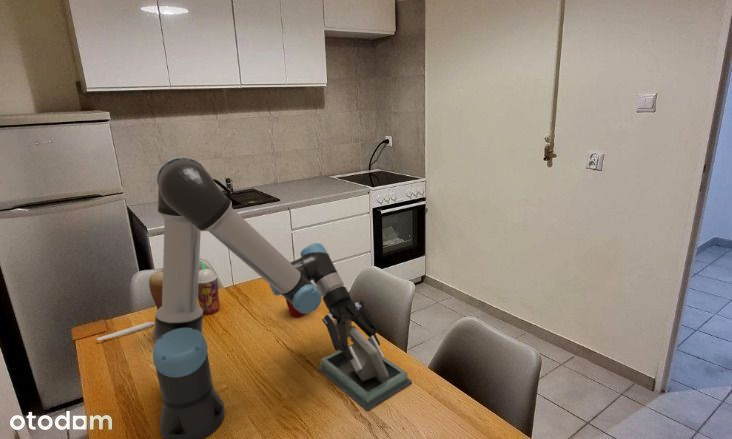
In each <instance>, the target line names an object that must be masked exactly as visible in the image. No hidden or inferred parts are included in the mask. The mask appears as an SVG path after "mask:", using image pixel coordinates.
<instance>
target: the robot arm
mask: <svg viewBox="0 0 732 439" xmlns="http://www.w3.org/2000/svg"><path fill="white" fill-rule="evenodd" d="M156 182H157V185H158V186H157V187H158V190H157V191H158V194H157V212H158V214H159V215H160V216H161V217H163V219H164V221H163V222H164V226H163V227H164V228H163V260H162V261H163V262H162V263H163V264H162V266H163V267H162V269H163V291H162V306H161V307H160V308H159V309H158V310H157V309H156V311H155V317H154V320H155V322H154V329H153V341H154V345H153V349H152V360H153V365H154V367H155V370H156V375H157V380H158V384H159V390H160V395H161V399H162V408H161V413H160V420H159V429H160V434H162V435H161V437H162V438H163V439H202V438H203V439H205V438H207V437H209V436H210V435H211V434H213V433H214V432H215V431H216V430H217V429H218V428H219V427H220V426H221V425H222V423H223V422H224V418H225V416H226V414H225V413H226V410H225V405H224V402H223V400H222V398H221V397H220V395H219V393H218V392H217V391H216V389H215V388H214V384H213V378H212V371H211V365H210V360H209V355H208V353H209V352H208V343H207V340H206V339H205V336H204V334H203V320H204V319H203V318H204V317H203V316H204V313H203V310H202V308H201V307H200V305H199V304H198V301H199V300H198V278H199V271H200V256H201V255H200V254H201V253H200V252H201V236H202V235H201V234H202V233H201V232H209V233H210V234H211V235H212V236H213V237H214V238H216V239H217V240H218V241H219V242H220V243H221V244H223V245H224V246H225V247H226V248H227V249H228V250H229V251H231V252H232V253H233V254H234V255H235V256H237V257H238V258H239V259H240V260H241V261H242V262H244V263H245V265H247V266H248V267H249V268H250V269H252V270H253V271H254V272H255V273H256V274H257V275H258V276H259V277H261V278H262V279H263V280H264V281H265V282H267V283H268V285H269V288H270V290H271V292H272V293H273V295H274V296H276V297H278V296H280V295H281V296H282V297H284V298H286V299H287V300H288V301H289V302H290V303H291V304H292V305H293V307H294V308H295V309H297V310H298V311H299V312H300V313H304V314H305V315H306V314H307V315H308V314H310V313H313V312H315V311H316V310H317V309H318V308H319V307H320V305H321V302H322V301H323V303H324V304H325V307H326V309H327V310H328V314H326V315H324V316H323V317H322V319H321V321H322V322H323V323H324V325H325V326H326V329H327V333H328V334H329V337H330V341H331V343H332V346H333V348H334V351H335V352H337V351H339V350H340V351H343V352H344V354H345V356H346V358H347V360H348V361H350V360H351V362H352V364H353V366H354V368H355V370H356V372H357V371H359V370H360V369H362V366H361V364H360V362H359V360H358V358H357V356H356V354H355V352H354V350H353V348H352V346H350V347H349V348H348V346H349V340H348V336H347V334H346V327H345V323H346V320H351V321H352V322H353V323H354V324H355V325H356V326H357V327H358V328H359V329H360V330H361V331H362V332H363V333H364V334H365V335H366V336H367V337H368V338H366V339H367V340H368V341H369V342H370V343H371V344H372V345H373V346H374V347H375V348H376V349H377V350H378V352H379V354H380V356H381V358H383V357H385V355H384V353H383V351H382V349H381V347H380V345H381V342H380V341H379V338H378V337H377V335H376V334H377V332H378V330H380V328H379V326H378V324H377V323H376V321H375V320H374V319H373V317H372V316H371V314H370V312H369V311H368V310H367V308H366V306H365V303H364V301H363V300H360V301H358V302H354V301H353V299H352V298H351V294H350V295H349V293H348V292H349V290H348V289H347V287H345V286H344V281H343V280H342V277H341V276H340V274H339V272H338V271H337V269H336V266H335V265H334V263H333V261H332V259H331V256H330V254H329V253H328V251H327V249H326V247H325V246H324V245H323V244H322V243H319V242H315V243H311V244H309V245H308V246H306V247H304V248H303V249H301V251H300V257H299V258H298V259H295V260H293V261H291V262H290V261H289V260H288V259H287V258H286V257H285V256H284V255H283V254H282V253H280V251H278V249H277V248H275V247H274V246H273V245H272V244H271V242H269V241H268V240H267V239H266V238H265V237H264V236H262V235H261V234H260V233H259V232H258V231H257V230H256V229H255V228H254V227H253V226H252V225H251V224H250V223H249V222H248V221H247V220H246V219H244V218H243V217H242V216H241V215H240V214H239V213H238V212H237V211H236V210H235V209H234V208H233V204H232V203H233V202H232V200H231V199H229V197H228V196H226V195H225V193H224V192H223V191H222V190H221V189H220V187H219V186H218V185H217V184H216V182H215V181H214V179H213V178H212V176H211V175H210V173H209V172H208V171H207V170H206V168H205V167H204V166H203V165H202V164H201V163H200V162H199V161H196V160H195V159H192V158H189V157H175V158H172V159H170V160H168V161H166V162H165V163H164V164H163V165H162V166H161V167H160V169H159V171H158V173H157V176H156ZM312 281H313V282H314V283H313V282H312ZM286 299H285V300H286ZM357 311H358V312H357ZM333 320H336V321H337V327H338V330H339V335H338V334H337V331H336V328H335V326H334V323H333Z"/></svg>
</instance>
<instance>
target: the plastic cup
mask: <svg viewBox="0 0 732 439" xmlns="http://www.w3.org/2000/svg"><path fill="white" fill-rule="evenodd" d="M284 298H285V297H284ZM285 302H286V305H287V306H286V307H287V308H288V311H289V314H290V316H291V317H293V318H300V317H303V316H305V315H306V314H304V313H300V312H299V311H298V310H297V309H295V308H294V307H293V305H292V304H291V303H290V302H289V301H288V300H287V299H286V298H285Z"/></svg>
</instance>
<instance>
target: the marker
mask: <svg viewBox="0 0 732 439" xmlns="http://www.w3.org/2000/svg"><path fill="white" fill-rule="evenodd" d="M153 326H155V322H153V321H148V322H144V323H141V324H138V325H134V326H132V327H127V328H125V329H121V330H118V331H116V332H112V333H109V334H105V335H103V336H100V337H97V338H96V341H97V340H103V339H107V338H112V337H116V336H120V335H124V334H127V333H131V332H134V331H137V332H139V331H138V330H140V331H142V330H141V329H144V330H146V329H145V328H147V329H149V327H150V328H151V327H153ZM134 333H135V332H134ZM131 334H132V333H131Z"/></svg>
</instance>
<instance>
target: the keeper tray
mask: <svg viewBox="0 0 732 439" xmlns="http://www.w3.org/2000/svg"><path fill="white" fill-rule="evenodd" d="M352 345H353V343H352V344H350V345H349V344H348V348H349V347H350V346H352ZM382 361H383V363H384V365H385V367H386V369H387V371H388V374H389V376H388V379H387V380H381V379H380V378H379V377H378V376H375V377H373V378H370V379H367V380H365V381H362V380H361V379H360V378H359V376H358V375H357V374H356V373H355V371H354V370H353V369H352V368H351V367H350V365H349V364H348V360H347V358H346V356H345V354H344V352H343V351H340V350H338V351H335V352H333V353H330V354H329V355H327V356H325V357H323V358H321V359H320V365H318V366H317V370H318V371H319V372H320V373H321V374H323V375H324V376H325V377H326V378H327V379H329V381H331V382H332V383H333V384H334V385H336V386H337V387H338V388H339V389H340V390H341V391H343V392H344V393H345V394H346V395H347V396H348V397H350V399H352V400H353V401H354V402H355V403H357V404H358V405H359V406H360V407H362V408H363V410H365V411H366V412H368V411H370V410H371V409H373V408H374V407H376V406H378V405H380V404H381V403H383V402H385V401H386V400H388V399H390V398H391V397H392V396H395V395H396V394H397V393H399V392H401V391H402V390H404V389H405V388H407V387H409V386H410V385H412V381H413V380H412V379H410V378H408V372H407V371H406V370H404V369H402V368H401V367H400V366H398V365H397V364H396V363H393V362H392V361H391V360H389V359H388V358H386V357H385V356H384V357H383V358H382Z"/></svg>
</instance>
